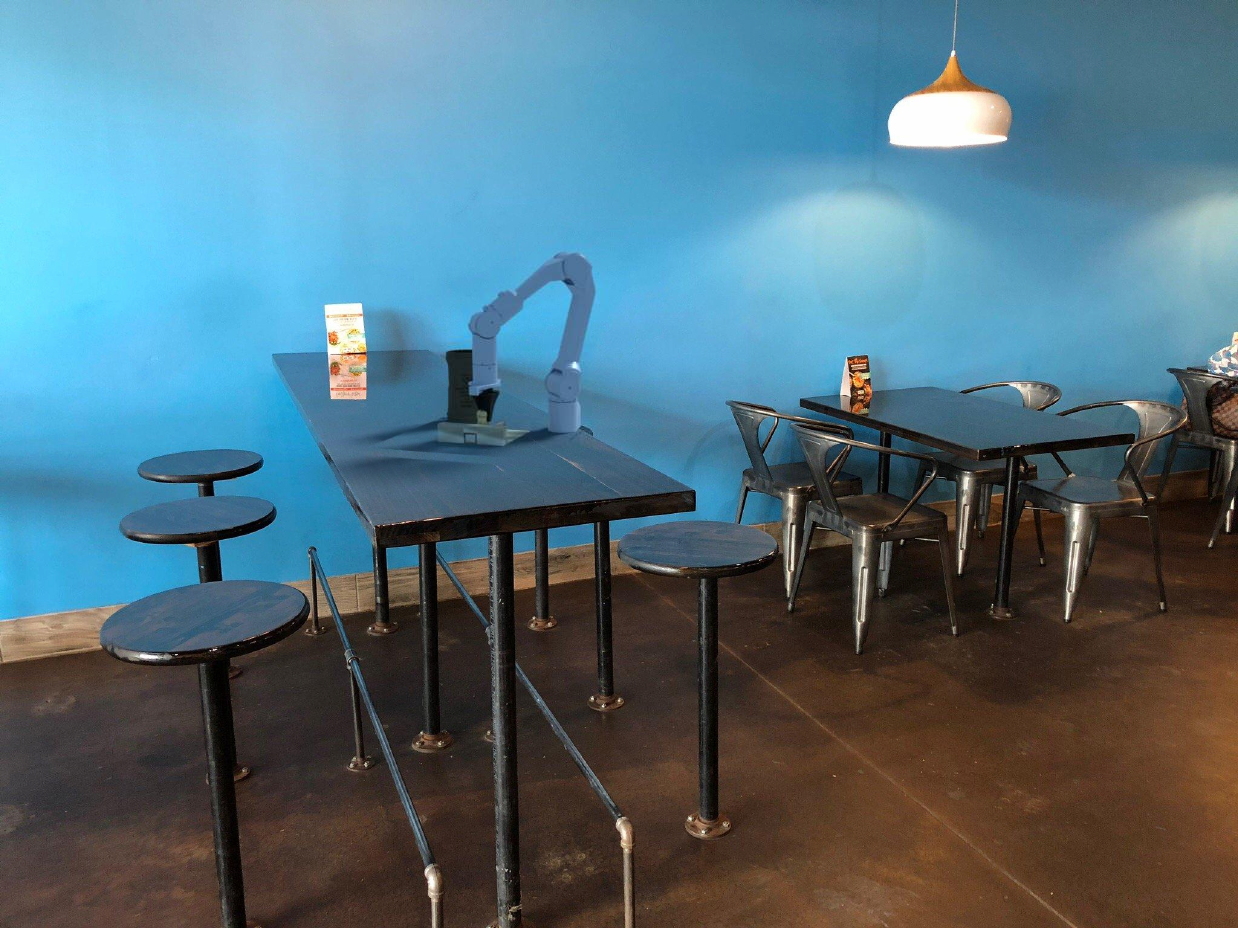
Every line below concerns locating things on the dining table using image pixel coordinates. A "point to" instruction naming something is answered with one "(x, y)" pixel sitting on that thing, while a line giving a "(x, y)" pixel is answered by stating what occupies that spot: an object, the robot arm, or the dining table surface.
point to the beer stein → (460, 387)
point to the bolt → (481, 421)
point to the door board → (478, 433)
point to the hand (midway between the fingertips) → (486, 421)
